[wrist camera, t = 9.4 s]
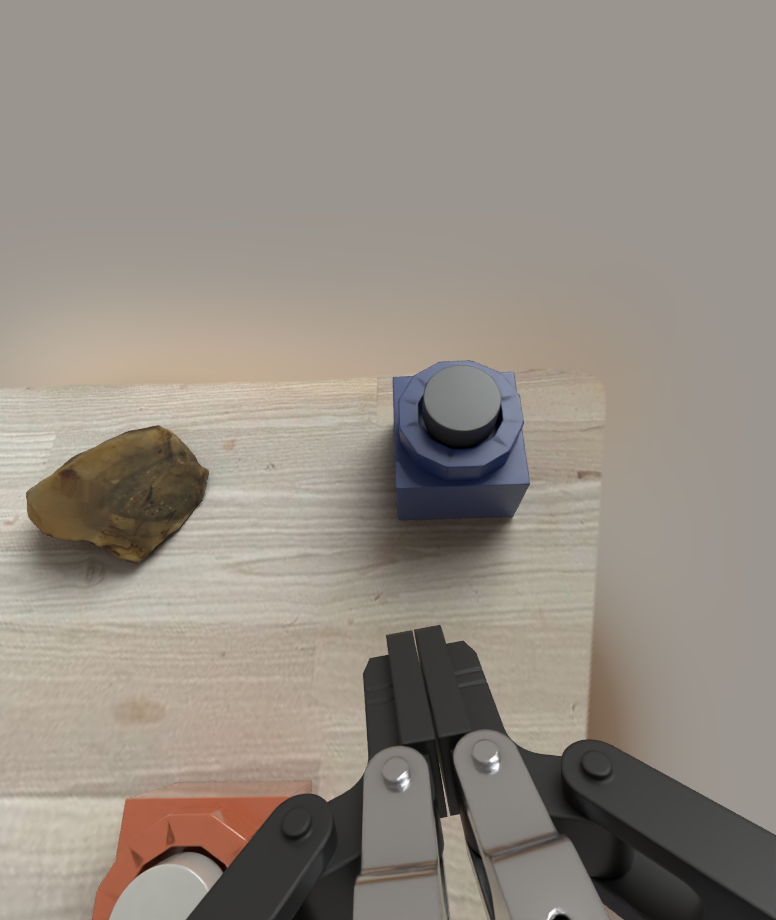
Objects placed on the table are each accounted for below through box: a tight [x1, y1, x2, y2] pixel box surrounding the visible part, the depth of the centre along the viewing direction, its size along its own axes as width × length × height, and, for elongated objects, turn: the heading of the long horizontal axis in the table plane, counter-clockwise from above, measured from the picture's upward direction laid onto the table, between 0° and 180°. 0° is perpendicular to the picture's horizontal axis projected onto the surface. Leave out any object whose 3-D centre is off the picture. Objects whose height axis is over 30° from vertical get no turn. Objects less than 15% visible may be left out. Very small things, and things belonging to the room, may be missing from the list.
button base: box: [92, 781, 312, 920], centre depth 25 cm, size 8×8×8 cm
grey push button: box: [423, 365, 501, 447], centre depth 31 cm, size 4×4×2 cm
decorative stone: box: [26, 425, 209, 563], centre depth 37 cm, size 10×9×4 cm
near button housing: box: [393, 361, 530, 520], centre depth 35 cm, size 8×8×8 cm
